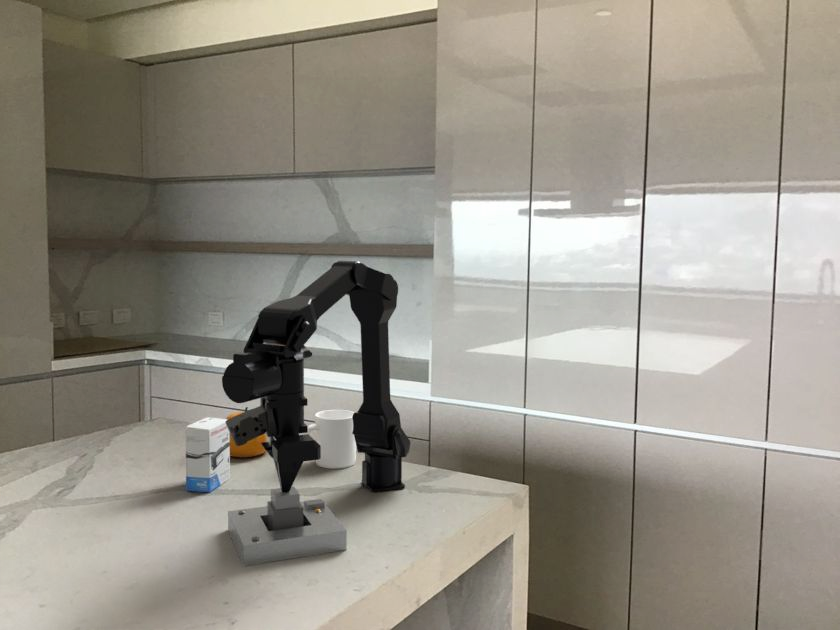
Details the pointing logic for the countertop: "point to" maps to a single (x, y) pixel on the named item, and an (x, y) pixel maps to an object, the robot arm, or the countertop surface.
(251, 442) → the fruit
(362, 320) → the robot arm
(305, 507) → the faceplate
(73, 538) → the countertop surface
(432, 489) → the countertop surface
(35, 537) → the countertop surface
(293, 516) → the plug
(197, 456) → the ink box
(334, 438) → the cup
